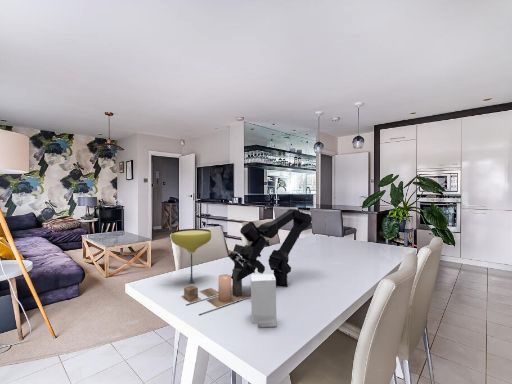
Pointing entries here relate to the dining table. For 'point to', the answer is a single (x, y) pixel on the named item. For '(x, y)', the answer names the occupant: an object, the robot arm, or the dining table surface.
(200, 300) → the lane rails
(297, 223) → the robot arm
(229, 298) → the terracotta cylinder
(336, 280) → the dining table surface
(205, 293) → the broken strip
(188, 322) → the dining table surface
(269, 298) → the skincare box
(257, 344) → the dining table surface
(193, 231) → the cocktail glass
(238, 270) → the tan wooden baseplate
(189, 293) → the walnut cube
